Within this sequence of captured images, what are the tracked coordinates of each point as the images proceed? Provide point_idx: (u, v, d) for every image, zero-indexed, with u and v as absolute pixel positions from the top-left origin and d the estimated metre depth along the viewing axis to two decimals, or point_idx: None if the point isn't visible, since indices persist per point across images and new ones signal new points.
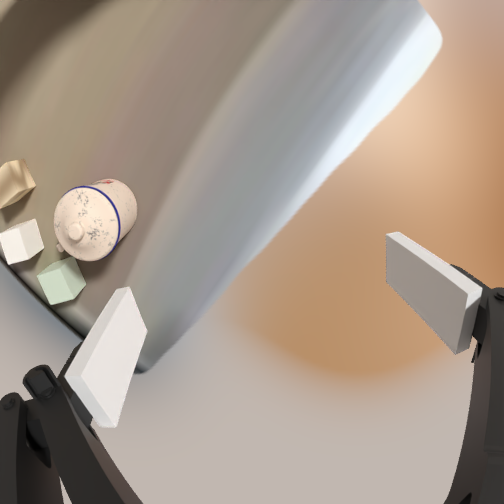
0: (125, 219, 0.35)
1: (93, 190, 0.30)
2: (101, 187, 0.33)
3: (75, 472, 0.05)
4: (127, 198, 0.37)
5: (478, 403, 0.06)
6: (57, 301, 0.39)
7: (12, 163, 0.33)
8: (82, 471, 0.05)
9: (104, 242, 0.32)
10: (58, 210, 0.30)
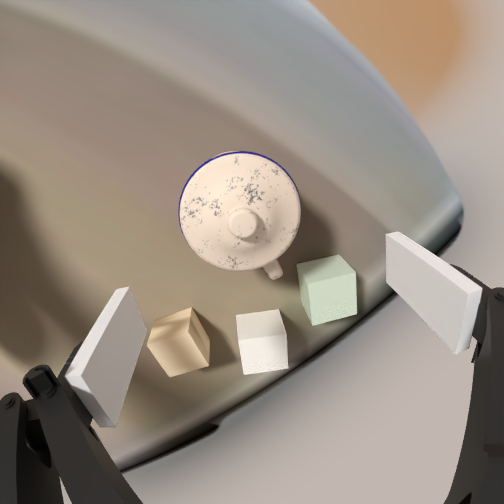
0: None
1: (185, 189, 0.21)
2: None
3: (75, 472, 0.05)
4: None
5: (478, 403, 0.06)
6: (354, 301, 0.30)
7: (152, 336, 0.31)
8: (82, 471, 0.05)
9: (271, 180, 0.21)
10: (210, 257, 0.23)
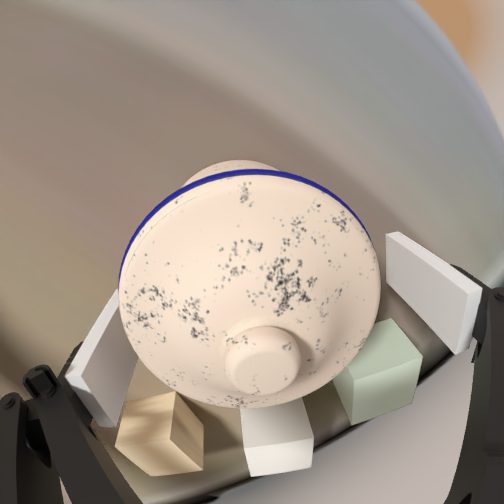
0: None
1: (126, 261, 0.09)
2: None
3: (75, 472, 0.05)
4: (208, 170, 0.14)
5: (478, 403, 0.06)
6: (412, 390, 0.18)
7: (121, 431, 0.19)
8: (82, 471, 0.05)
9: (331, 244, 0.08)
10: (191, 393, 0.10)
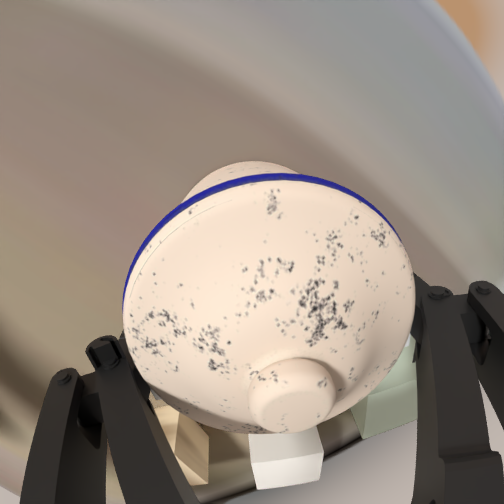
0: (283, 173, 0.10)
1: (131, 280, 0.08)
2: None
3: (128, 448, 0.06)
4: (221, 173, 0.12)
5: (425, 406, 0.06)
6: None
7: None
8: (136, 447, 0.06)
9: (369, 262, 0.07)
10: (206, 420, 0.09)
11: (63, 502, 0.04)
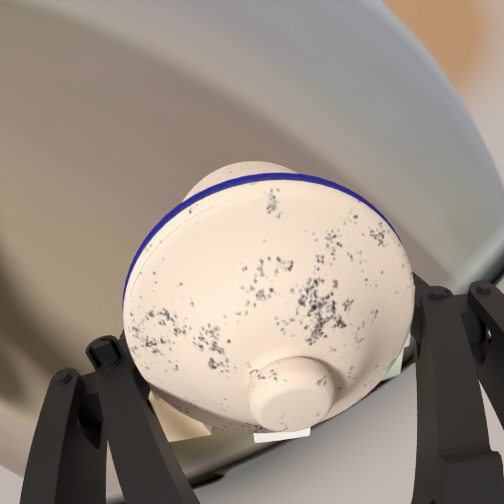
0: (283, 172, 0.10)
1: (131, 279, 0.08)
2: None
3: (128, 448, 0.06)
4: (221, 172, 0.12)
5: (425, 406, 0.06)
6: (399, 361, 0.22)
7: None
8: (136, 447, 0.06)
9: (368, 261, 0.07)
10: (206, 420, 0.09)
11: (63, 502, 0.04)
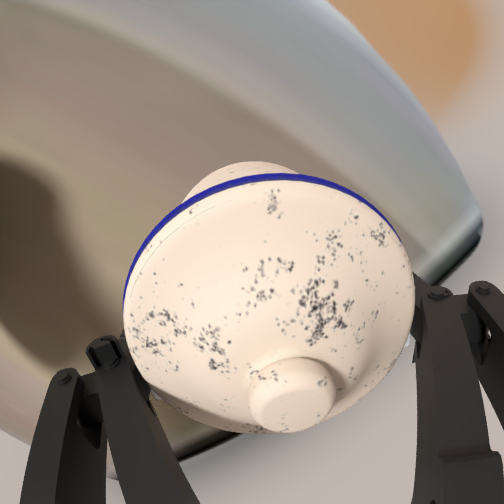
0: (283, 173, 0.10)
1: (131, 280, 0.08)
2: None
3: (128, 448, 0.06)
4: (222, 173, 0.12)
5: (425, 406, 0.06)
6: None
7: None
8: (136, 447, 0.06)
9: (368, 262, 0.07)
10: (206, 420, 0.09)
11: (63, 502, 0.04)
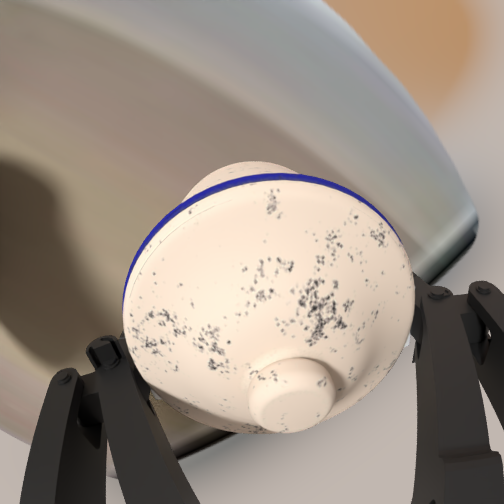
0: (283, 173, 0.10)
1: (131, 280, 0.08)
2: None
3: (128, 448, 0.06)
4: (221, 173, 0.12)
5: (425, 406, 0.06)
6: None
7: None
8: (136, 447, 0.06)
9: (368, 262, 0.07)
10: (206, 420, 0.09)
11: (63, 502, 0.04)
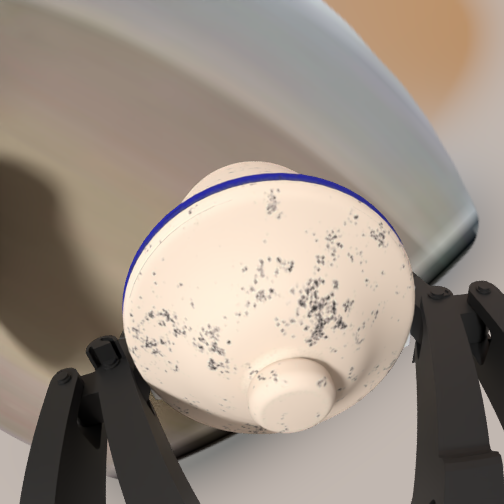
0: (283, 173, 0.10)
1: (131, 280, 0.08)
2: None
3: (128, 448, 0.06)
4: (221, 173, 0.12)
5: (425, 406, 0.06)
6: None
7: None
8: (136, 447, 0.06)
9: (368, 262, 0.07)
10: (206, 420, 0.09)
11: (63, 502, 0.04)
